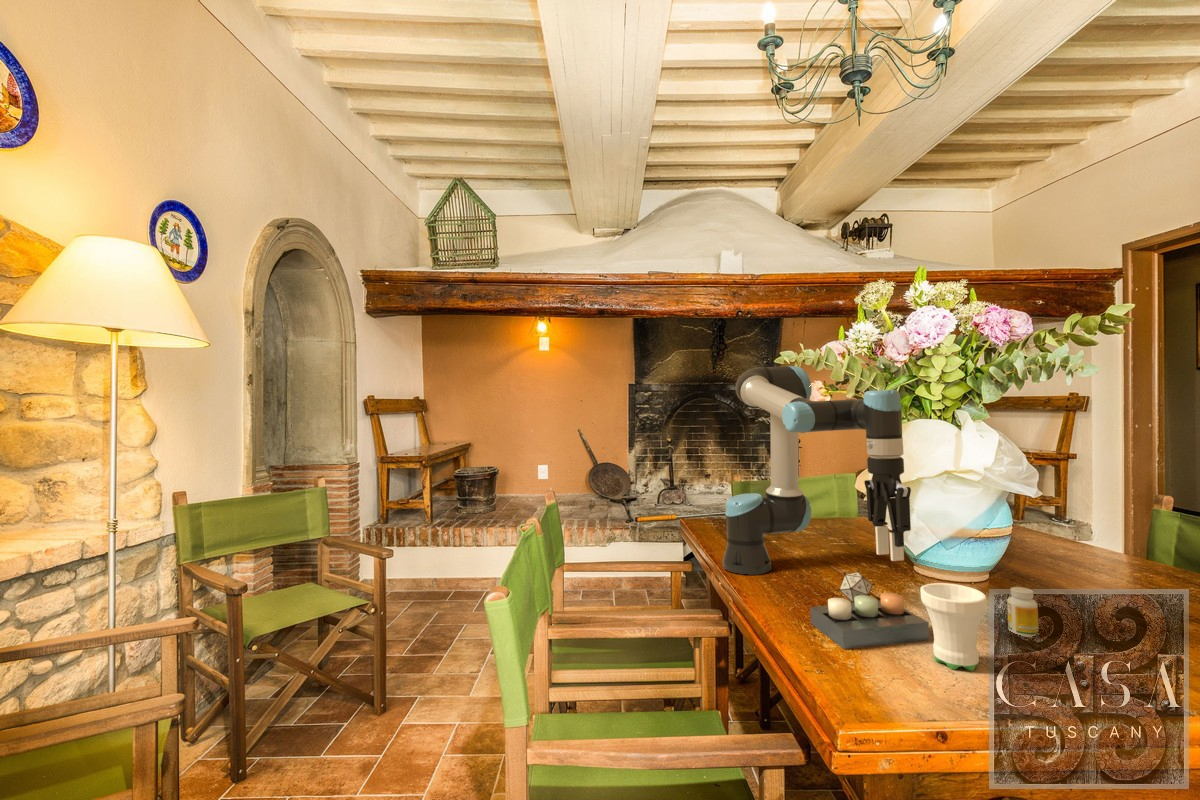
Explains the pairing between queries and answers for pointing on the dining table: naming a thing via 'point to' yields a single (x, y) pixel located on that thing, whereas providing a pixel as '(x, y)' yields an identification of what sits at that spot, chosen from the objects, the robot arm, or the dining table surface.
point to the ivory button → (839, 608)
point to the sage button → (866, 606)
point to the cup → (954, 622)
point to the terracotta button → (892, 603)
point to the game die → (855, 585)
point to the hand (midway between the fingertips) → (890, 556)
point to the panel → (870, 628)
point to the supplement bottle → (1022, 612)
